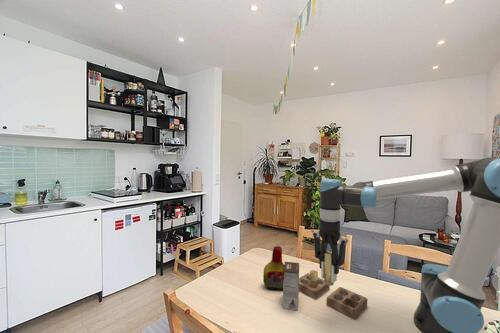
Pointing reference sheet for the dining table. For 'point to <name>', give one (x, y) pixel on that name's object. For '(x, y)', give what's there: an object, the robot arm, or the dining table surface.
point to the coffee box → (291, 285)
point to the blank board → (347, 302)
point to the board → (314, 290)
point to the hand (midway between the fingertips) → (328, 279)
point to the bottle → (274, 270)
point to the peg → (328, 267)
